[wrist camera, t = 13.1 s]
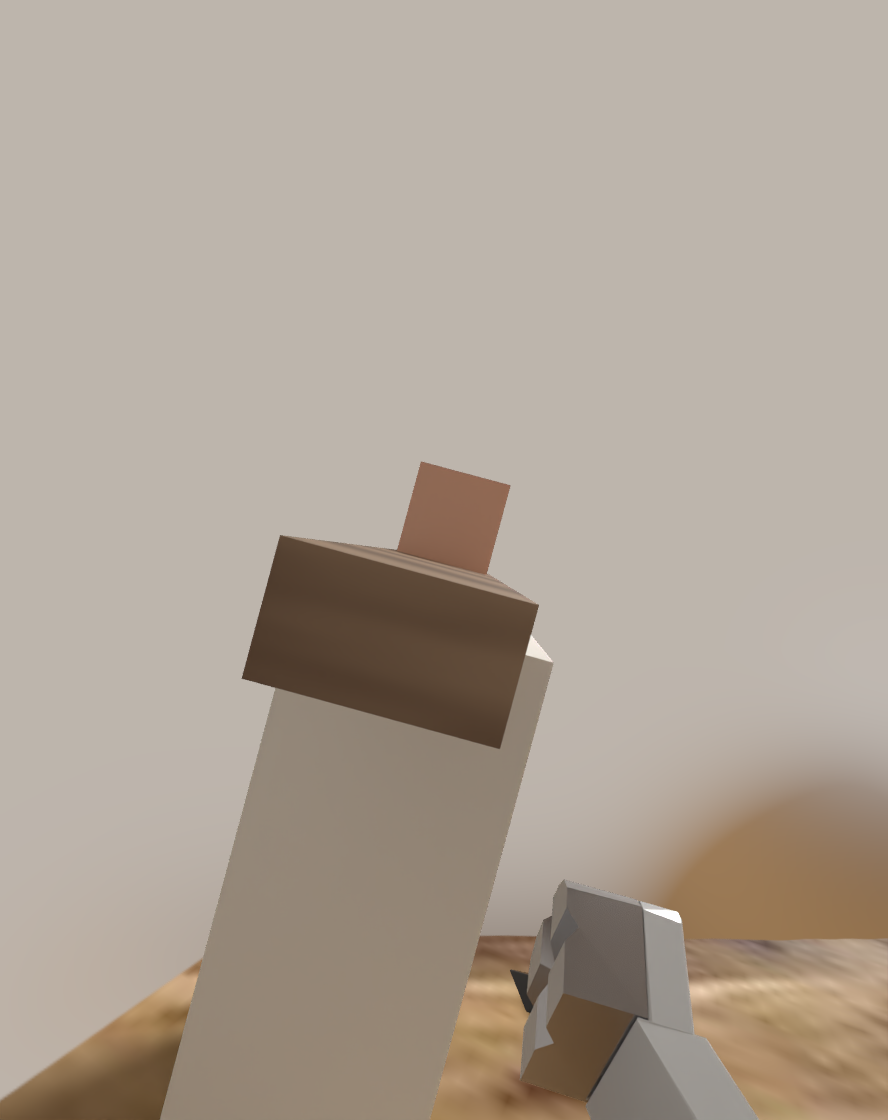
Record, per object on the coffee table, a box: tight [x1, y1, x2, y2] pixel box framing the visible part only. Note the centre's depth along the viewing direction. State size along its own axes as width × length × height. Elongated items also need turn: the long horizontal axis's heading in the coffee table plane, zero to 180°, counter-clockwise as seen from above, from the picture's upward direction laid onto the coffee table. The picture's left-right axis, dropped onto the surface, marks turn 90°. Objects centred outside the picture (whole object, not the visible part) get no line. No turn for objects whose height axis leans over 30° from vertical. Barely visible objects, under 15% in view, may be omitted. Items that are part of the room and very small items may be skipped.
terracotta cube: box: [397, 462, 510, 575], centre depth 38 cm, size 4×4×4 cm
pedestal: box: [160, 635, 553, 1120], centre depth 40 cm, size 16×10×26 cm, turn 177°
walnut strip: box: [242, 535, 539, 749], centre depth 27 cm, size 26×4×2 cm, turn 178°
